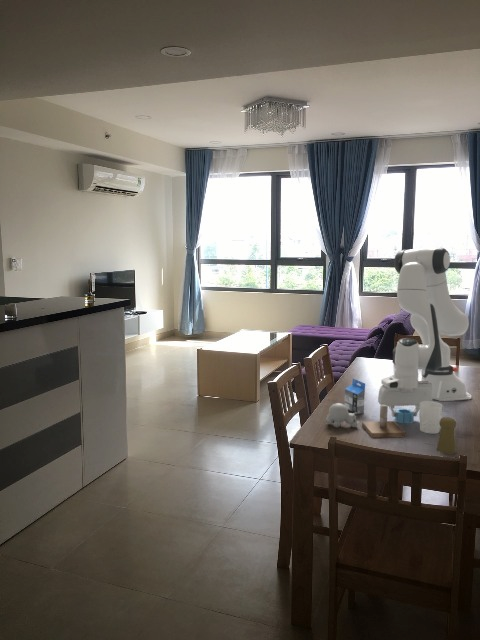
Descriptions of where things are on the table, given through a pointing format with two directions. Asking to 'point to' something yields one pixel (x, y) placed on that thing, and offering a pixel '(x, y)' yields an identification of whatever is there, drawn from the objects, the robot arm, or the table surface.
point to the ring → (404, 416)
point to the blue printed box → (355, 397)
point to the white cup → (430, 416)
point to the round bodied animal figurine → (341, 416)
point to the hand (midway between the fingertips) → (404, 416)
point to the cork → (447, 436)
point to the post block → (383, 426)
